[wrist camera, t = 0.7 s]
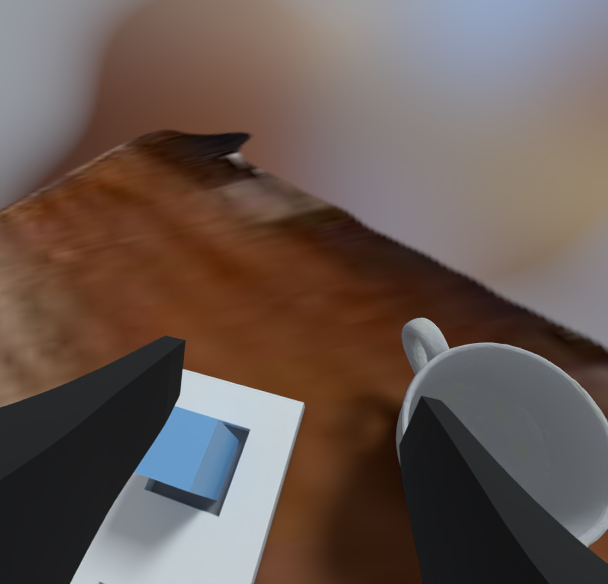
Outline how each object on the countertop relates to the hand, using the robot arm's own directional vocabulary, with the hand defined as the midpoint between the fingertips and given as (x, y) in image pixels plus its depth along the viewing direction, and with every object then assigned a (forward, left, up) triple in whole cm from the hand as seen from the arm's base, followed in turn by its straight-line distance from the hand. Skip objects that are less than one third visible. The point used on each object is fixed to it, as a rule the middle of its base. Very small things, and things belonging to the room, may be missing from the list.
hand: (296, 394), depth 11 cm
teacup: (+5, -9, -18) cm, 21 cm away
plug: (-1, +8, -17) cm, 19 cm away
